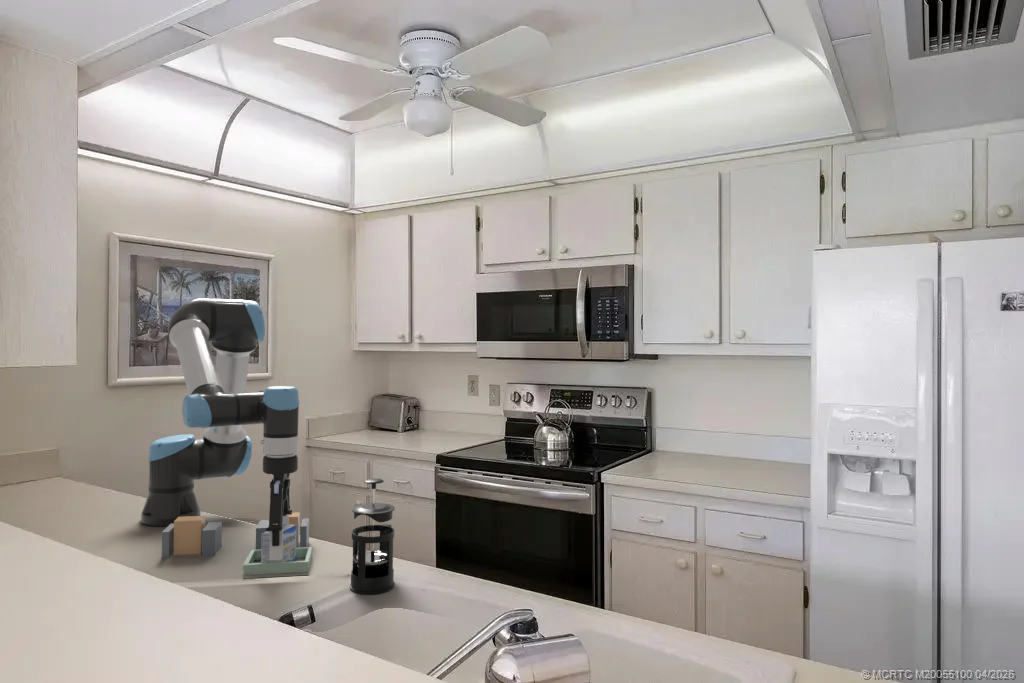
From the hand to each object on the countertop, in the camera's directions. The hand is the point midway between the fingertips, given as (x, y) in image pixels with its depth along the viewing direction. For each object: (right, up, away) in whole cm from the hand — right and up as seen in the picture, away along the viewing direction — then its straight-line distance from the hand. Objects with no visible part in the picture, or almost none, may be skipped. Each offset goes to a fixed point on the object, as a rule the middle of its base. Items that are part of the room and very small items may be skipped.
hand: (279, 551), depth 155 cm
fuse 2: (-3, -3, +12) cm, 13 cm away
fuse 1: (-24, -2, +8) cm, 25 cm away
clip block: (-13, -4, +10) cm, 17 cm away
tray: (0, -4, 0) cm, 4 cm away
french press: (+23, -5, -9) cm, 25 cm away
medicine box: (0, -4, 0) cm, 4 cm away
